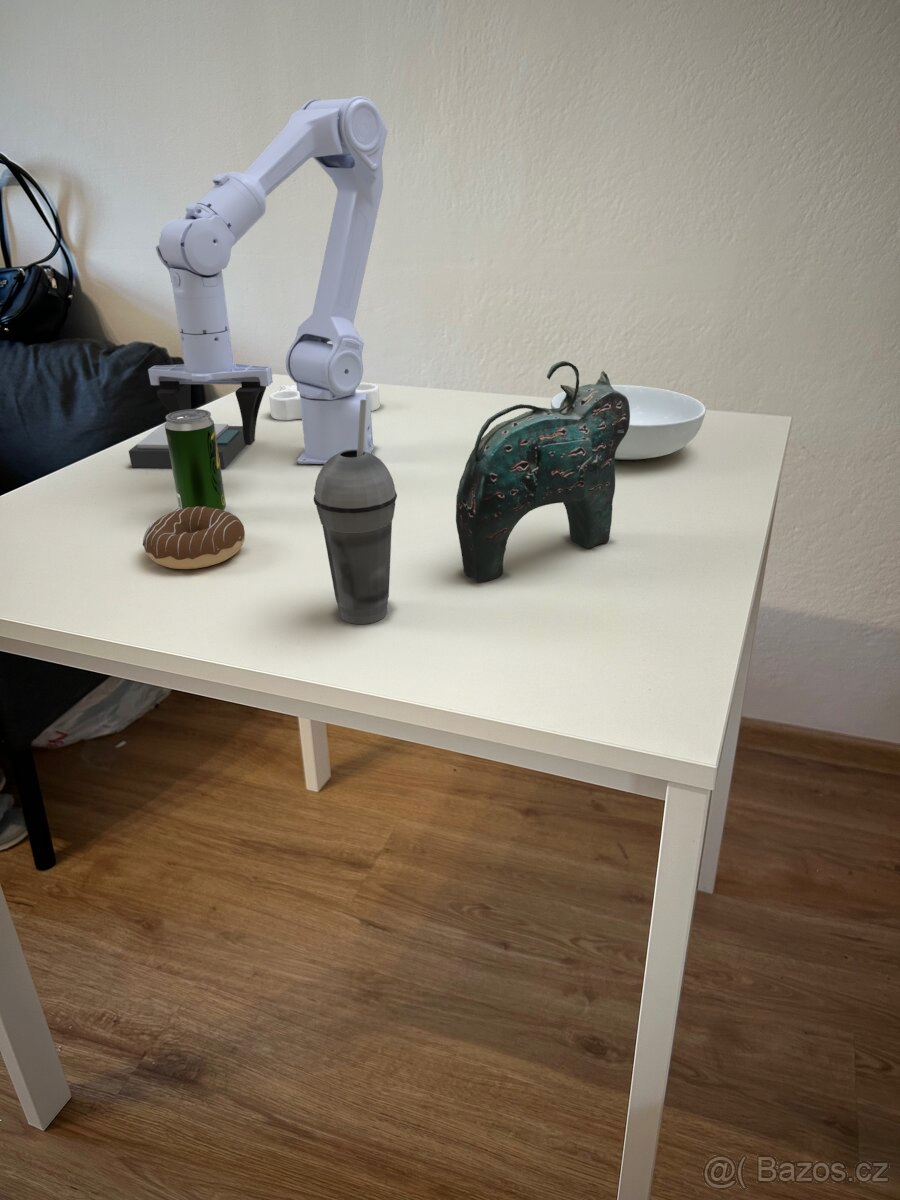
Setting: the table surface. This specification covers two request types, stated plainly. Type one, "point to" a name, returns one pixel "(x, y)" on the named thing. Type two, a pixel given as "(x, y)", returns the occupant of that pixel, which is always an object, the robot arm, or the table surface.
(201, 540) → the donut
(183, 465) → the beer can
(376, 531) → the beverage cup
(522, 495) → the ceramic cat
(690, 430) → the serving bowl
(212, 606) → the table surface
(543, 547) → the table surface
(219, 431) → the scale
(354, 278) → the robot arm
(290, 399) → the knuckle duster
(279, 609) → the table surface
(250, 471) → the table surface
